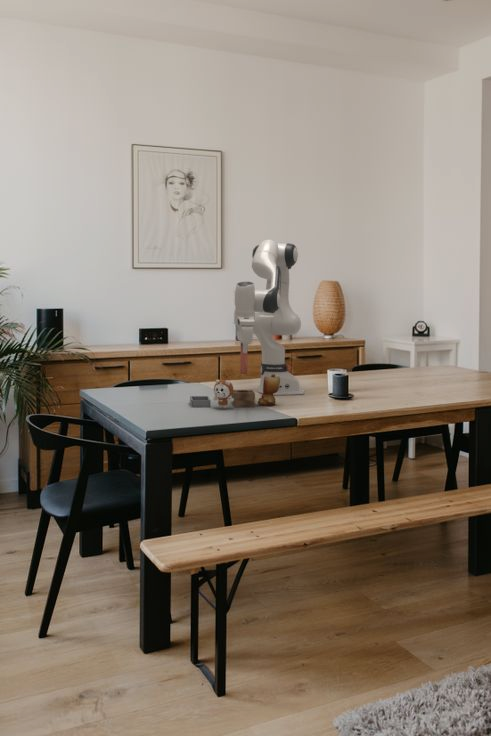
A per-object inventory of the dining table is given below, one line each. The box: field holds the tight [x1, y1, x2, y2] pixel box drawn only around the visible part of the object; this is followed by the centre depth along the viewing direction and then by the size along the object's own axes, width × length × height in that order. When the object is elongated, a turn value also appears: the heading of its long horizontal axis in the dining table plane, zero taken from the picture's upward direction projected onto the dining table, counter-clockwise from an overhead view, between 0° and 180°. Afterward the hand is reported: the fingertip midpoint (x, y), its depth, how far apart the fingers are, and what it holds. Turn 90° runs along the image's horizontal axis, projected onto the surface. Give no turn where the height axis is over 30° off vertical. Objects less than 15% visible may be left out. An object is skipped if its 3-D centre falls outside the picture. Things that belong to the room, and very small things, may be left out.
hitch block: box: [230, 389, 256, 408], centre depth 299 cm, size 9×9×6 cm
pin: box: [239, 342, 249, 375], centre depth 297 cm, size 3×3×13 cm
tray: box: [189, 395, 211, 408], centre depth 297 cm, size 8×11×3 cm
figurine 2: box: [257, 374, 280, 407], centre depth 301 cm, size 10×8×15 cm
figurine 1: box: [212, 379, 234, 409], centre depth 290 cm, size 9×9×12 cm
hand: (244, 352), depth 297 cm, fingers closed on pin, 3 cm apart
